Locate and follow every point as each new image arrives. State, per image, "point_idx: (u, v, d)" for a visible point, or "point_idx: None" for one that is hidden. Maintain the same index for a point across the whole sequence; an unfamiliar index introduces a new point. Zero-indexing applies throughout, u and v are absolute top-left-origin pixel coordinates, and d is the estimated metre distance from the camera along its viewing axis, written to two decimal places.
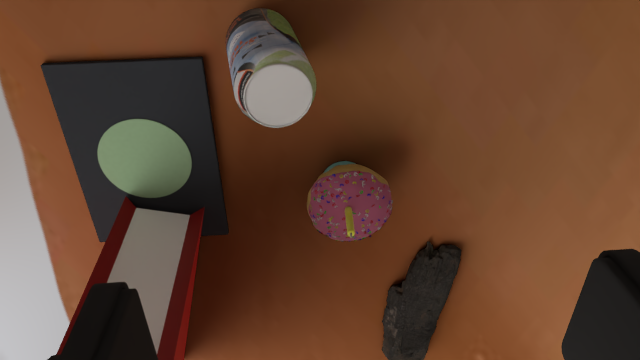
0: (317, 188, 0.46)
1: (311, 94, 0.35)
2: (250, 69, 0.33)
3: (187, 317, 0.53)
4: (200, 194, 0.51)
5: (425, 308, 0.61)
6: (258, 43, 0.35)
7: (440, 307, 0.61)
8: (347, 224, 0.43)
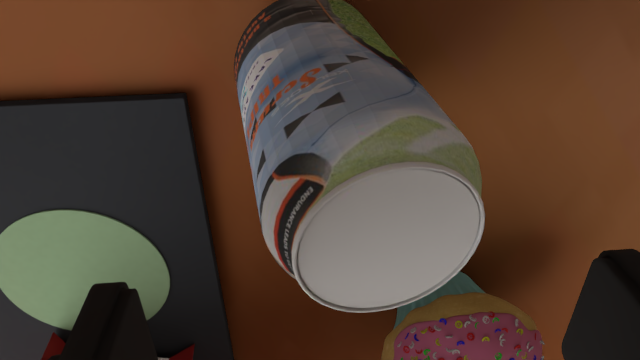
0: (410, 342, 0.24)
1: (479, 234, 0.12)
2: (315, 175, 0.11)
3: None
4: (187, 325, 0.29)
5: None
6: (331, 90, 0.12)
7: None
8: None
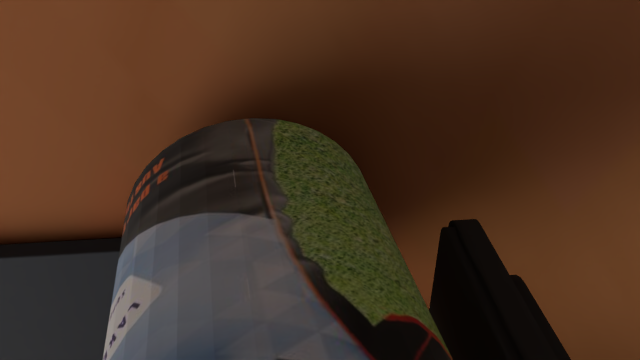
0: None
1: None
2: None
3: None
4: None
5: None
6: None
7: None
8: None
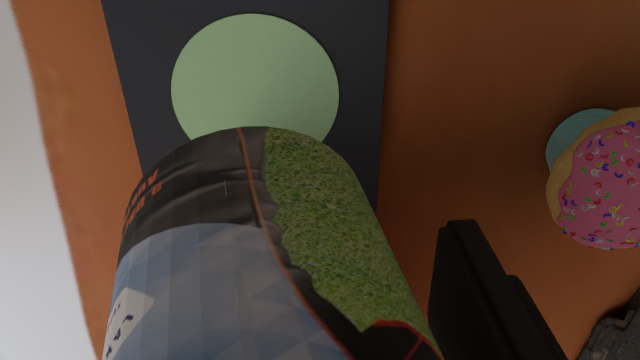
0: (594, 149, 0.24)
1: None
2: None
3: None
4: None
5: None
6: None
7: None
8: None
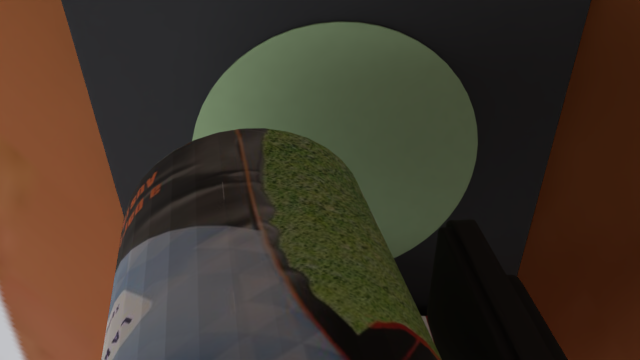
0: None
1: None
2: None
3: None
4: None
5: None
6: None
7: None
8: None
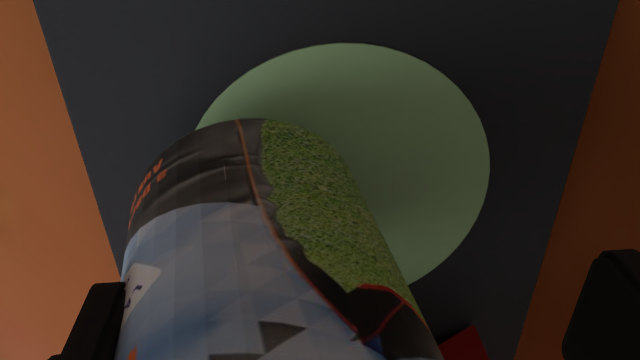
0: None
1: None
2: None
3: None
4: (473, 291, 0.17)
5: None
6: None
7: None
8: None
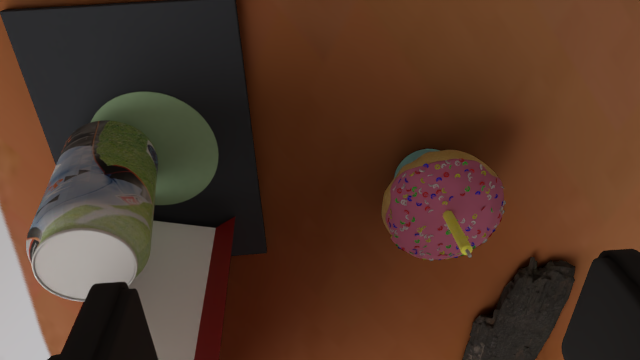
0: (402, 184, 0.32)
1: (133, 257, 0.25)
2: (37, 237, 0.24)
3: None
4: (229, 199, 0.37)
5: (523, 344, 0.46)
6: (57, 193, 0.25)
7: (542, 343, 0.47)
8: (457, 236, 0.29)
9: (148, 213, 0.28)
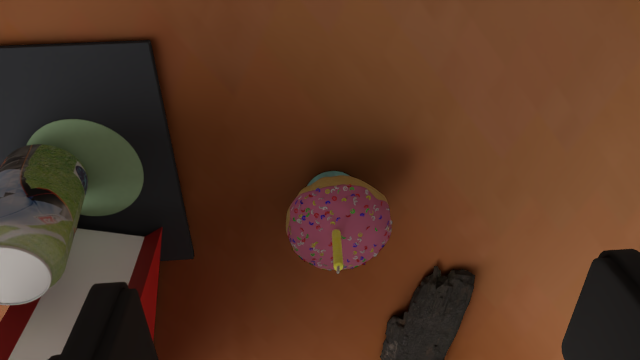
0: (298, 205, 0.37)
1: (47, 269, 0.30)
2: None
3: None
4: (156, 211, 0.42)
5: (431, 343, 0.52)
6: None
7: (449, 342, 0.52)
8: (334, 254, 0.33)
9: (66, 230, 0.32)
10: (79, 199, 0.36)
